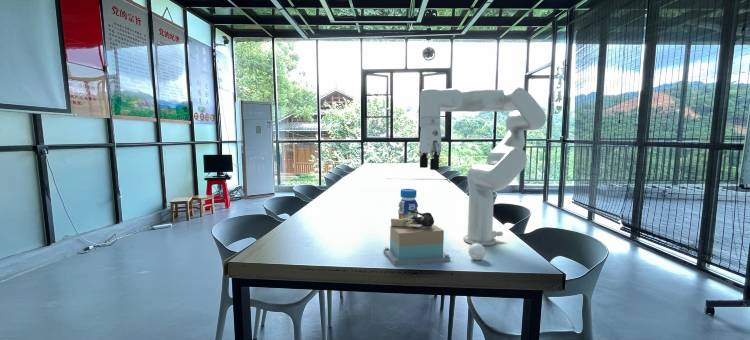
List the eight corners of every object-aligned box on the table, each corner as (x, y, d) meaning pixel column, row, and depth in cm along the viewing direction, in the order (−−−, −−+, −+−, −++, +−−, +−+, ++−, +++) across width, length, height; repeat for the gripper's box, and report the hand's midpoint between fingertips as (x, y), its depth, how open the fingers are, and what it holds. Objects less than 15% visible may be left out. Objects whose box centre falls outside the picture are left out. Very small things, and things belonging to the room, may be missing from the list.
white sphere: (465, 259, 111) (466, 244, 110) (472, 255, 115) (472, 240, 115) (487, 265, 106) (488, 248, 106) (493, 260, 110) (494, 244, 110)
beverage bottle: (398, 232, 144) (399, 188, 142) (417, 233, 143) (418, 188, 141) (397, 238, 135) (397, 190, 134) (417, 239, 134) (418, 191, 132)
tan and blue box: (434, 248, 123) (434, 222, 122) (450, 260, 110) (451, 231, 109) (383, 252, 118) (383, 225, 117) (394, 265, 105) (394, 235, 104)
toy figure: (392, 230, 110) (436, 228, 111) (391, 212, 110) (435, 210, 111) (391, 227, 117) (432, 225, 118) (390, 210, 118) (431, 208, 118)
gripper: (450, 121, 113) (448, 170, 114) (429, 124, 129) (428, 166, 131) (430, 121, 111) (429, 170, 112) (412, 123, 127) (411, 167, 129)
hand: (428, 168), depth 121 cm, fingers open, 9 cm apart
